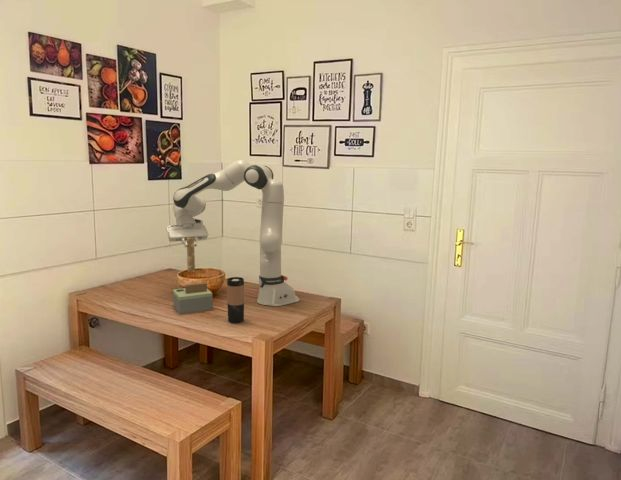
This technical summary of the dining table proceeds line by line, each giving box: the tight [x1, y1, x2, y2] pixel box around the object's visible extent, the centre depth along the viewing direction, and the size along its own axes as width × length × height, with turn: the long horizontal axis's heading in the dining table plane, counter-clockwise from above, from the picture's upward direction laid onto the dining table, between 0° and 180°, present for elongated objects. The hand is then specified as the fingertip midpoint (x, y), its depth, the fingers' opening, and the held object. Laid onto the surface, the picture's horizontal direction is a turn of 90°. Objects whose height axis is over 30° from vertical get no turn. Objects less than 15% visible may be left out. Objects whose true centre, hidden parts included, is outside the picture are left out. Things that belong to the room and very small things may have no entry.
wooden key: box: [186, 238, 196, 273], centre depth 242 cm, size 3×3×18 cm
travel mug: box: [226, 276, 245, 324], centre depth 216 cm, size 8×8×20 cm
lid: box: [172, 282, 213, 300], centre depth 230 cm, size 16×14×6 cm
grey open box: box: [172, 292, 214, 315], centre depth 231 cm, size 16×14×8 cm
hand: (191, 246), depth 240 cm, fingers closed on wooden key, 3 cm apart
